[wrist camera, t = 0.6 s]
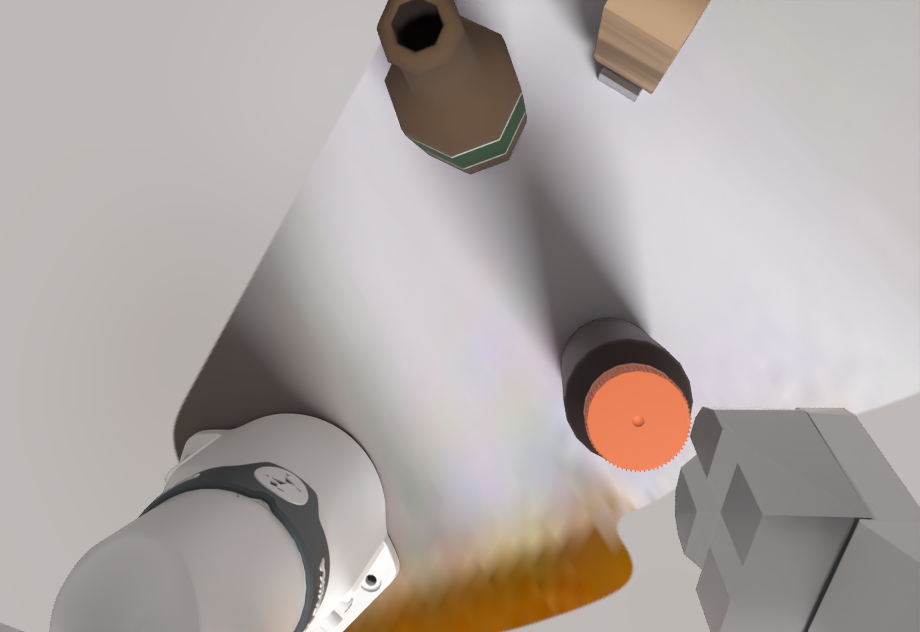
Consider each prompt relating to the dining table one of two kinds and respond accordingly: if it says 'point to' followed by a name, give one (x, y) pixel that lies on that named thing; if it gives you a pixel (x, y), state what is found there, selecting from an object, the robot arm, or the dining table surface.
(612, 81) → the rail and cabinet
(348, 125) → the dining table surface
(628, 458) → the vinegar
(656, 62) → the carriage
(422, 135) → the beer bottle
